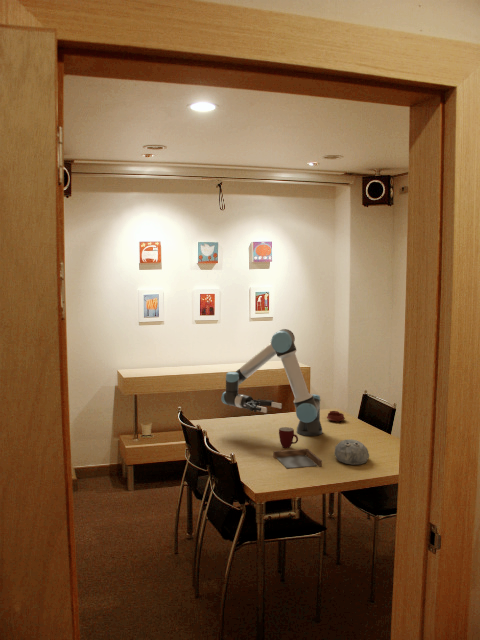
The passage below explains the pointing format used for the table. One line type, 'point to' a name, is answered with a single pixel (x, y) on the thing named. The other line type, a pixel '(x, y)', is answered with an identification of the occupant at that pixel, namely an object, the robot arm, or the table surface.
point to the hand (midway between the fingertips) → (274, 408)
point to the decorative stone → (351, 452)
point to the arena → (297, 458)
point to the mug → (287, 436)
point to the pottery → (335, 416)
